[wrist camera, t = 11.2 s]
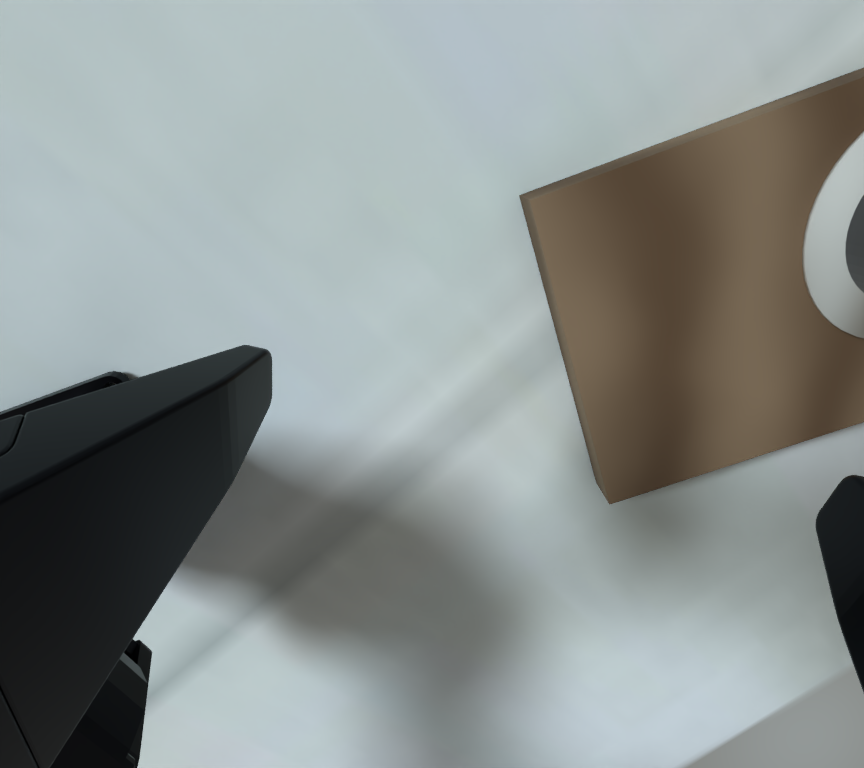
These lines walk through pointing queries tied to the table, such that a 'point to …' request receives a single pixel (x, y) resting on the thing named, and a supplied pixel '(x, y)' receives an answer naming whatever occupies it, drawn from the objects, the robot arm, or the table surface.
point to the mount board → (710, 290)
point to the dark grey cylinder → (856, 246)
